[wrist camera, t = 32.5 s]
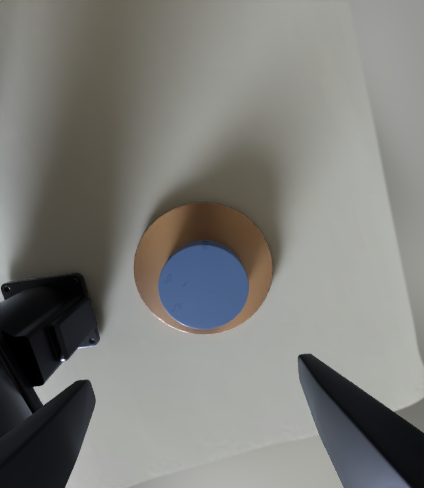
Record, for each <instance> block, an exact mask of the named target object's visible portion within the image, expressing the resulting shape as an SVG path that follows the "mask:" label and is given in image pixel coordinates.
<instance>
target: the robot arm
mask: <svg viewBox="0 0 424 488" xmlns="http://www.w3.org/2000/svg"><path fill="white" fill-rule="evenodd" d="M74 278H76V279H77V280H78V282H76V281H75V280H74ZM8 287H9V288H10V289H9V288H8ZM1 291H2V294H3V296H4V299H5V300H4V301H3V302H1V303H0V488H65V486H66V484H67V482H68V479H69V477H70V474H71V472H72V470H73V467H74V465H75V462H76V460H77V457H78V455H79V452H80V449H81V446H82V443H83V440H84V437H85V434H86V431H87V428H88V425H89V422H90V419H91V416H92V413H93V410H94V407H95V402H96V399H95V395H94V391H93V388H92V385H91V382H90V381H89V380H79V381H76V382H74V383H73V384H72V385H70V386H69V387H68V388H66V389H65V390H64V391H62V392H61V393H60V394H58V395H57V396H56V397H54V398H53V399H52V400H50V401H49V402H48V403H46V404H45V405H44V406H43V404H42V403H41V401H40V399H39V397H38V396H37V394H36V392H35V390H34V389H33V387H34V386H41V385H43V384H44V383H45V382H46V381H47V380H48V378H49V377H50V376H51V375H52V374H53V373H54V371H55V370H56V369H57V368H58V367H59V366H60V365H61V363H62V362H63V361H67V360H68V359H69V358H70V357H71V355H72V354H73V353H74V352H75V351H76V350H77V348H82V347H90V346H95V345H96V344H97V343H98V342H99V340H100V337H99V333H98V329H97V322H96V318H95V315H94V311H93V308H92V304H91V300H90V298H89V297H88V294H87V290H86V286H85V283H84V279H83V277H82V275H81V274H79V273H72V274H65V275H57V276H49V277H42V278H34V279H26V280H19V281H11V282H7V283H5V284H3V285H2V286H1ZM91 338H93V339H94V340H95V341H94V340H92V339H91ZM298 370H299V379H300V383H301V385H302V388H303V391H304V394H305V397H306V399H307V402H308V405H309V408H310V411H311V413H312V416H313V419H314V422H315V425H316V427H317V430H318V433H319V435H320V437H321V439H322V442H323V444H324V446H325V448H326V450H327V453H328V455H329V457H330V459H331V461H332V463H333V465H334V467H335V470H336V472H337V474H338V476H339V478H340V480H341V483H342V485H343V487H344V488H424V433H423V432H421V431H420V430H419V429H417V428H416V427H414V426H413V425H412V424H410V423H409V422H407V421H406V420H405V419H403V418H402V417H400V416H399V415H397V414H396V413H395V412H393V411H392V410H390V409H389V408H387V407H386V406H385V405H383V404H382V403H380V402H379V401H377V400H376V399H375V398H373V397H372V396H370V395H369V394H367V393H366V392H365V391H363V390H362V389H360V388H359V387H357V386H356V385H355V384H353V383H352V382H350V381H349V380H347V379H346V378H345V377H343V376H342V375H340V374H339V373H337V372H336V371H335V370H333V369H332V368H330V367H329V366H327V365H326V364H325V363H323V362H322V361H320V360H319V359H317V358H316V357H315V356H313V355H312V354H301V355H299V356H298Z"/></svg>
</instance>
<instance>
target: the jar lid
mask: <svg viewBox="0 0 424 488" xmlns="http://www.w3.org/2000/svg"><path fill="white" fill-rule="evenodd" d="M158 292H159V297H160V300H161V303H162V305H163V307H164V308H165V310H166V311H167V313H168V314H169V315H170V316H171V317H172V318H174V319H175V320H176V321H178V322H179V323H181V324H183V325H185V326H188V327H191V328H195V329H213V328H217V327H220V326H222V325H225V324H227V323H228V322H230V321H231V320H233V319H234V318H235V317H236V316H237V315H238V314H239V313H240V312H241V310H242V309H243V307H244V305H245V303H246V301H247V298H248V293H249V282H248V277H247V274H246V271H245V269H244V267H243V264H242V262H241V260H240V259H239V257H238V256H237V255H236V253H235V252H234V251H233V250H232V249H230V248H229V247H228V246H226V245H224V244H222V243H219V242H217V241H213V240H195V241H191V242H188V243H186V244H184V245H182V246H181V247H179V248H178V249H177V250H175V251H174V252H173V253H171V254H170V256H169V257H168V260H167V262H166V263H165V265H164V267H163V269H162V271H161V273H160V276H159V281H158Z"/></svg>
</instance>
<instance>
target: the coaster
mask: <svg viewBox="0 0 424 488" xmlns="http://www.w3.org/2000/svg"><path fill="white" fill-rule="evenodd" d="M195 240H213V241H217V242H219V243H222V244H224V245H226V246H228V247H229V248H230V249H232V250H233V251H234V252H235V253H236V255H237V256H238V257H239V259H240V260H241V262H242V264H243V267H244V269H245V271H246V274H247V277H248V282H249V293H248V298H247V301H246V303H245V305H244V307H243V309H242V310H241V312H240V313H239V314H238V315H237V316H236V317H235V318H234V319H233V320H231V321H230V322H228V323H227V324H225V325H222V326H220V327H217V328H213V329H195V328H191V327H188V326H185V325H183V324H181V323H179V322H178V321H176V320H175V319H174V318H172V317H171V316H170V315H169V314H168V313H167V311H166V310H165V308H164V307H163V305H162V303H161V300H160V297H159V292H158V281H159V276H160V273H161V271H162V269H163V267H164V265H165V263H166V262H167V260H168V257H169V256H170V254H171V253H173V252H174V251H175V250H177V249H178V248H179V247H181V246H182V245H184V244H186V243H188V242H191V241H195ZM272 274H273V263H272V257H271V253H270V249H269V246H268V244H267V242H266V240H265V238H264V236H263V235H262V233H261V231H260V230H259V229H258V228H257V227H256V225H255V224H254V223H253V222H252V221H250V220H249V219H248V218H247V217H246V216H244V215H243V214H241V213H240V212H238V211H236V210H234V209H232V208H230V207H227V206H224V205H221V204H216V203H208V202H198V203H190V204H185V205H182V206H179V207H176V208H174V209H172V210H170V211H168V212H166V213H165V214H163V215H162V216H160V217H159V218H158V219H156V220H155V221H154V222H153V223H152V224H151V225H150V226H149V228H148V229H147V230H146V231H145V233H144V235H143V236H142V238H141V240H140V242H139V244H138V247H137V250H136V254H135V260H134V276H135V282H136V286H137V289H138V292H139V294H140V296H141V298H142V300H143V301H144V303H145V305H146V306H147V307H148V308H149V310H150V311H151V312H152V313H153V314H154V315H155V316H156V317H157V318H159V319H160V320H161V321H163V322H164V323H166V324H167V325H169V326H171V327H173V328H175V329H178V330H181V331H184V332H188V333H193V334H214V333H220V332H223V331H227V330H230V329H232V328H234V327H236V326H238V325H240V324H242V323H243V322H245V321H246V320H247V319H249V318H250V317H251V316H252V315H253V314H254V313H255V312H256V311H257V310H258V309H259V307H260V306H261V305H262V303H263V301H264V300H265V298H266V296H267V293H268V291H269V289H270V285H271V281H272Z"/></svg>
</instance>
